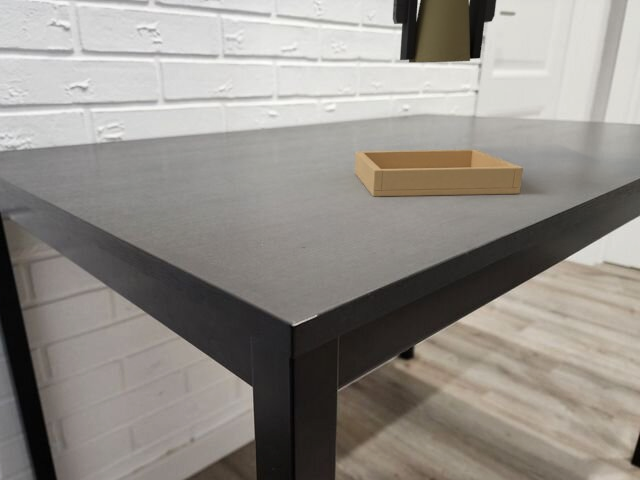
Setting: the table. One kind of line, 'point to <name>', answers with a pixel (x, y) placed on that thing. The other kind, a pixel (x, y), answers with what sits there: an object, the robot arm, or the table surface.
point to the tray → (436, 173)
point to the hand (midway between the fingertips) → (439, 58)
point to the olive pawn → (442, 31)
